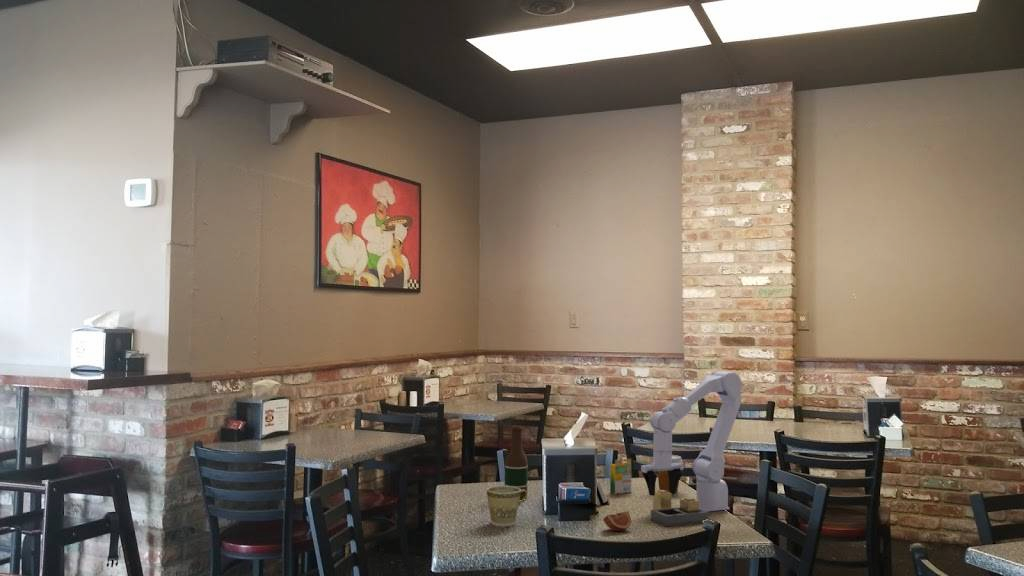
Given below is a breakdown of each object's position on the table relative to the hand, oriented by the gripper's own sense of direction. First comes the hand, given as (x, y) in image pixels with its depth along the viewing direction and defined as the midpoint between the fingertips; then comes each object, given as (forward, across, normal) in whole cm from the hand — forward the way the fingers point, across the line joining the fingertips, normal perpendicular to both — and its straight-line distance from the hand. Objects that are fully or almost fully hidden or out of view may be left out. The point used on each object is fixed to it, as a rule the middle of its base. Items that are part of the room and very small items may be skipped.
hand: (662, 494), depth 249 cm
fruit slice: (+6, +25, +14) cm, 29 cm away
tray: (+5, +2, +12) cm, 13 cm away
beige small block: (+5, 0, 0) cm, 5 cm away
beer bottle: (+6, +36, -32) cm, 48 cm away
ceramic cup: (+6, +51, -4) cm, 51 cm away
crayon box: (+6, -2, -28) cm, 29 cm away
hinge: (+6, +14, -22) cm, 27 cm away
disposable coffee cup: (+6, -19, -24) cm, 31 cm away
